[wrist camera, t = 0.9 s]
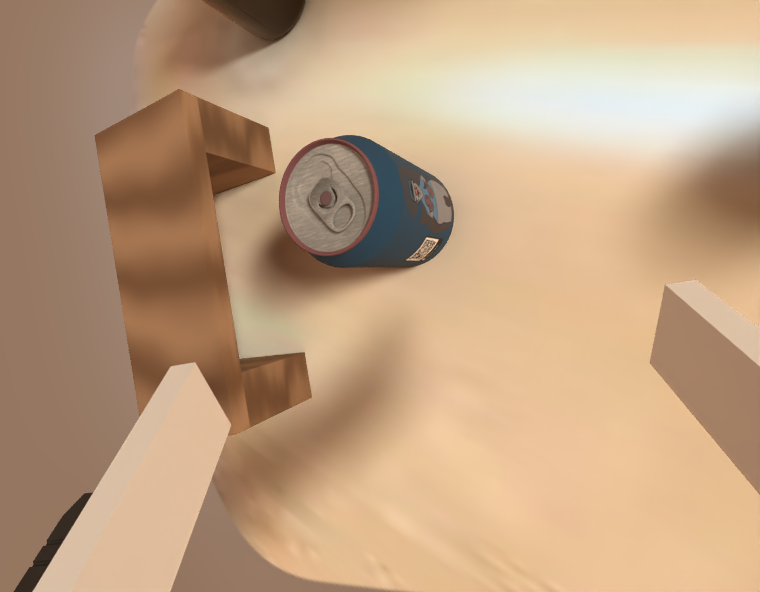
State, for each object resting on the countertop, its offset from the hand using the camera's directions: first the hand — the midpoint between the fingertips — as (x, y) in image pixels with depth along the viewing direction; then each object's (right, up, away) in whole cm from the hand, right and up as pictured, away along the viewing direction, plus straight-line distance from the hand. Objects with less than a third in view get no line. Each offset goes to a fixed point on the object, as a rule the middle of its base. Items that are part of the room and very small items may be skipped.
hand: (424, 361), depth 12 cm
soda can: (+1, +8, +19) cm, 21 cm away
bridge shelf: (-14, +4, +27) cm, 30 cm away
